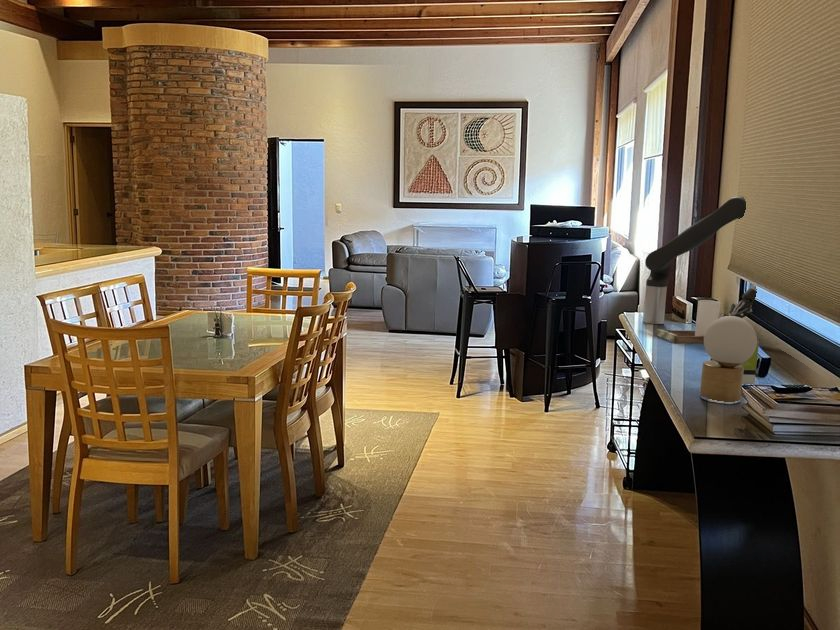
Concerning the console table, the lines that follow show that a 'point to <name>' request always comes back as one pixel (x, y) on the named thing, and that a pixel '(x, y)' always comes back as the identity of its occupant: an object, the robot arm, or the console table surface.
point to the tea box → (749, 368)
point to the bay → (680, 336)
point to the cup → (705, 315)
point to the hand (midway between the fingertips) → (727, 323)
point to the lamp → (726, 357)
